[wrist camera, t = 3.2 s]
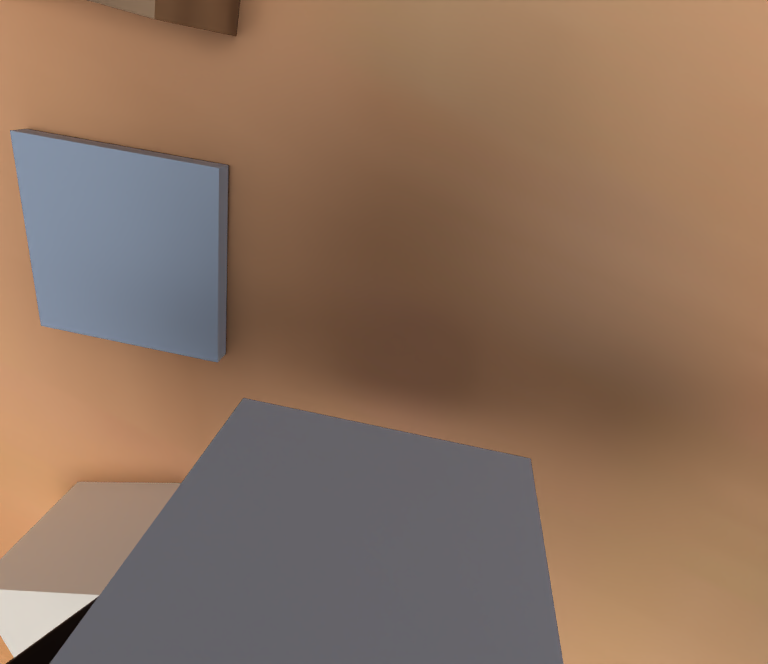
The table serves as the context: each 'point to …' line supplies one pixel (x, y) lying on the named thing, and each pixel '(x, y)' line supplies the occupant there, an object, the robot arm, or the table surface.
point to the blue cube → (332, 555)
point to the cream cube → (73, 555)
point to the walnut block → (185, 12)
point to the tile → (126, 242)
